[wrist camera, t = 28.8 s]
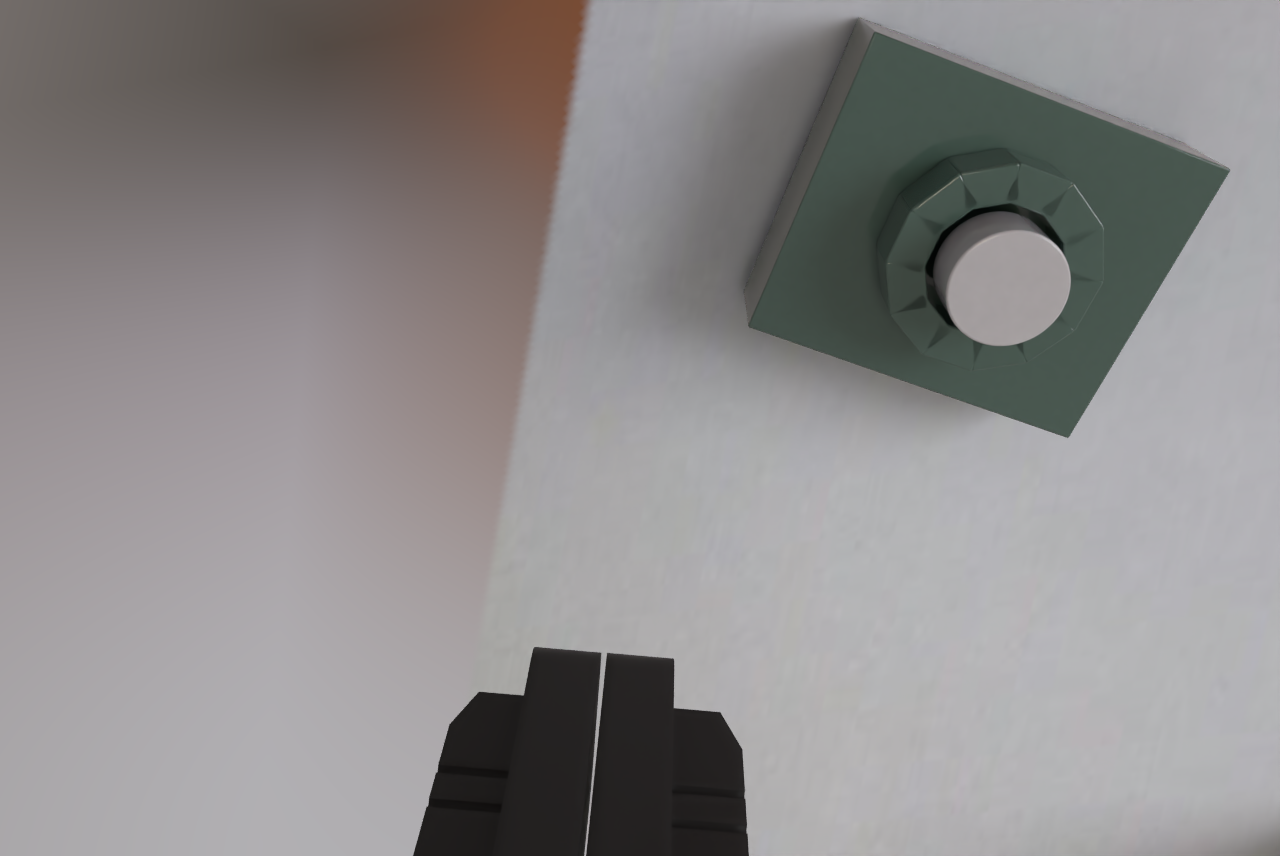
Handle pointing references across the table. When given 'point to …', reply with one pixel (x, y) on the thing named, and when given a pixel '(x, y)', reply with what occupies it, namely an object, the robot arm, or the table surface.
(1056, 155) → the green knob base
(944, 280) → the grey knob
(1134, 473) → the table surface
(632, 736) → the robot arm
